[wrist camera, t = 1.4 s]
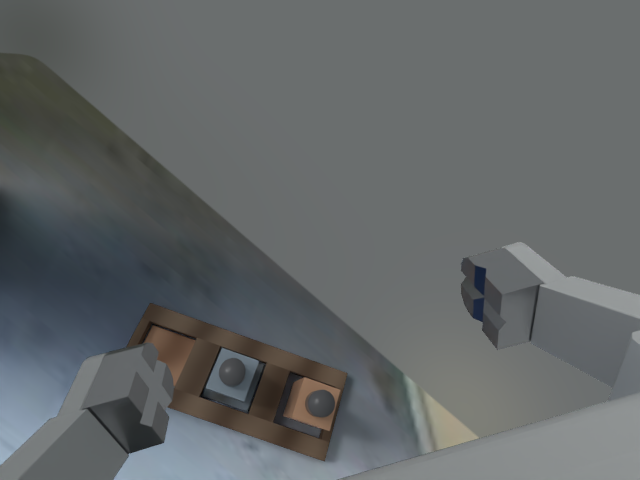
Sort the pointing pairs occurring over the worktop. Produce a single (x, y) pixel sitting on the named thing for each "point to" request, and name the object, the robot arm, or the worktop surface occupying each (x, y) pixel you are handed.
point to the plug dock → (198, 360)
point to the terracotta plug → (312, 403)
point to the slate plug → (232, 375)
